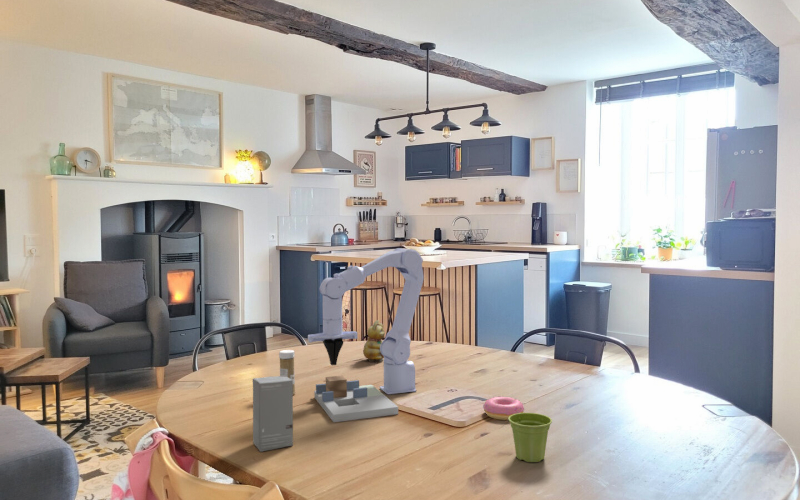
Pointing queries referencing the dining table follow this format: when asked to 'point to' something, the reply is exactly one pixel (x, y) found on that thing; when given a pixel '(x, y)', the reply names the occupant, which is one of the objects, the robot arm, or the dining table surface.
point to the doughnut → (502, 407)
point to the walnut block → (337, 386)
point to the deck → (355, 402)
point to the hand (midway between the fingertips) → (333, 364)
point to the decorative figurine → (374, 342)
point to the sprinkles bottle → (287, 365)
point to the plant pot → (530, 435)
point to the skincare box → (272, 412)
